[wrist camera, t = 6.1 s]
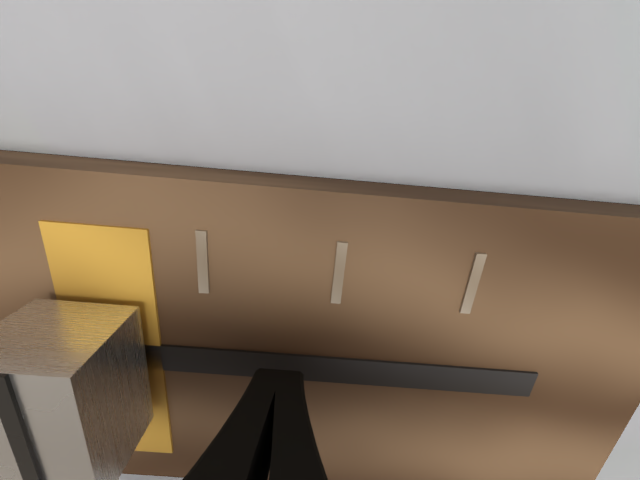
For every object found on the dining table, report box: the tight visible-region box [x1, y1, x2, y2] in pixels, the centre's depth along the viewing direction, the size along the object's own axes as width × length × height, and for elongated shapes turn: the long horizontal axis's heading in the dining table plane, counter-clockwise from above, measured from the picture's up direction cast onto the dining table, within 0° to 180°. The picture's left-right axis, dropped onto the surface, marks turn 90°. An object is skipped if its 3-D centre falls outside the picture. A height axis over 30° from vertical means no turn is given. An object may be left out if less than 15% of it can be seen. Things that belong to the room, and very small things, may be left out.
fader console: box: [0, 150, 640, 480], centre depth 12 cm, size 12×26×2 cm, turn 85°
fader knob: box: [0, 299, 154, 480], centre depth 9 cm, size 4×3×3 cm
